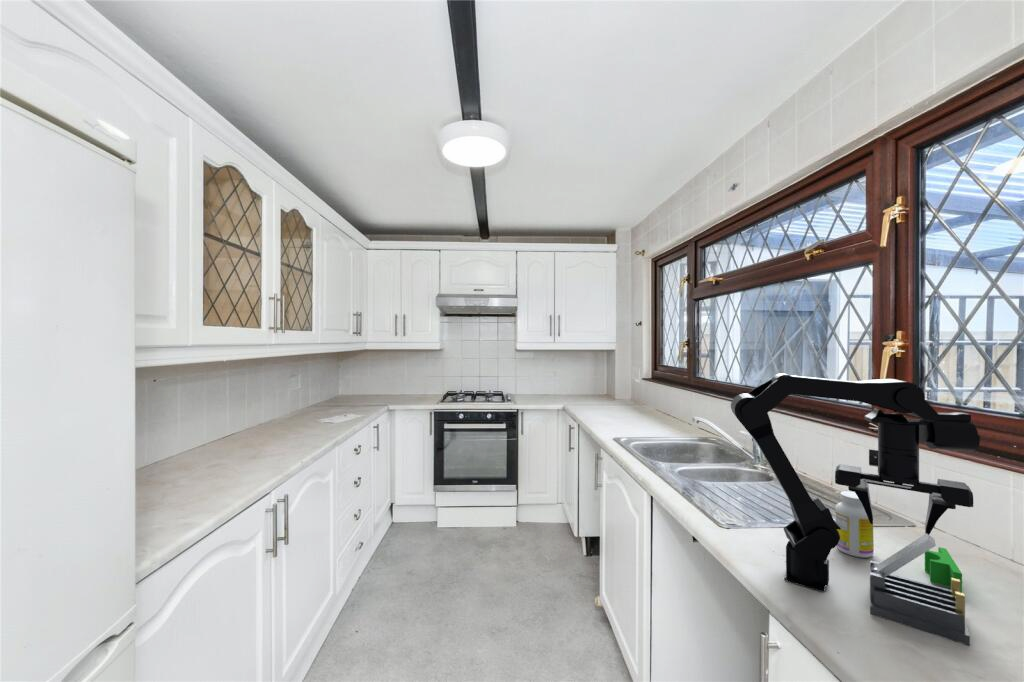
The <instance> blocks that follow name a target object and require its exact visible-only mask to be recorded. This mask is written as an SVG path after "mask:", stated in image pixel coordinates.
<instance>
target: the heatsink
mask: <svg viewBox="0 0 1024 682" xmlns="http://www.w3.org/2000/svg"><path fill="white" fill-rule="evenodd" d="M869 563H870V564H869V565H870V568H871V566H872V565H873V564H879V563H881V562H879V561H876V560H870V562H869ZM869 585H870V588H869V596H870V597H869V601H870V602H869V605H870V606H869V607H870V608H869V611H870V613H869V614H870V615H873V616H876V617H879V618H881V619H885V620H888V621H890V622H894V623H898V624H901V625H904V626H907V627H910V628H913V629H915V630H916V629H917V630H919V631H922V632H925V633H928V634H931V635H934V636H938V637H942V638H945V639H947V640H951V641H954V642H958V643H960V644H964V645H967V646H971V635H970V633H969V629H968V626H967V623H966V595H965V593H963V592H962V593H960V580H959V579H955V578H951V589H948V588H945V587H940V586H937V585H933V584H929V583H926V582H921V581H918V580H914V579H910V578H907V577H903V576H899V575H895V574H893V573H891V574H890V575H888V576H886V577H885V576H883V575H880V574H876V573H872V572H871V571H869Z"/></svg>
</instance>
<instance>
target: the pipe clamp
mask: <svg viewBox="0 0 1024 682" xmlns="http://www.w3.org/2000/svg"><path fill="white" fill-rule="evenodd" d="M937 548H938V551H934V550H928V551H927V552H925V553H924V572H925V573H928V574H929V582H930V583H931V584H935V585H940V586H944V587H947V588H949V590H951V578H955V579H959V580H960V593H963V573H962V572H961V570H960V568H959V566H958V565H957V563H956V562H955V560H954V559H953V557H952V556H951V554H950V553H949V551H948V550H947V548H946V547H945V548H944V547H940V546H938V547H937Z"/></svg>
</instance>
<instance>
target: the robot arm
mask: <svg viewBox="0 0 1024 682" xmlns="http://www.w3.org/2000/svg"><path fill="white" fill-rule="evenodd" d="M790 395H795V396H796V395H797V396H798V395H799V396H806V397H814V398H825V399H835V400H844V401H851V402H860V403H862V404H864V403H865V404H867V405H871V406H875V407H878V408H882V409H887V410H890V411H893V413H890V412H884V411H882V410H881V409H878V408H873V410H872V411H871V412H869V413H867V414H865V415H864V416H863V418H864V420H866V421H868V422H871V423H875V424H876V423H877V449H868V465H869V466H870V467H876V468H877V474H876V473H875V474H873V473H868V472H867V473H866V472H862V467H860V466H855V465H848V464H842V463H841V464H838V465H837V466H835V467H836V468H835V470H834V471H835V472H834V483H835V484H836V485H841V486H845V487H848V490H847V491H849V492H855V493H856V495H857V496H858V498H859V500H860V501H861V503H862V505H863V507H864V510H865V512H866V514H867V517H868V519H869V522H870V524H873V525H874V513H873V507H872V501H871V495H870V488H869V485H875V486H882V487H887V488H892V489H893V488H894V489H899V490H905V491H911V492H918V493H923V494H929V495H928V505H927V512H926V516H925V523H924V535H925V534H926V533H927V534H929V535H930V534H931V532H932V531H933V529H934V528H935V525H936V524H937V523H938V520H939V519H940V518H941V517H942V516H943V515H944V513H945V512H946V511H947V510H948V509H949V510H956V509H957V507H956V506H960V507H967V508H974V494H973V491H972V489H971V488H970V486H969V485H967V483H966V482H962V481H955V480H948V479H943V478H942V479H941V478H937V483H933V482H925V481H920V443H923V444H925V445H926V447H928V448H929V449H932V450H944V451H958V452H959V451H960V452H961V451H962V452H976V450H977V449H978V448H979V447H980V442H981V435H980V434H979V432H978V428H977V427H976V425H975V423H974V422H973V421H972V415H971V414H970V413H966V412H962V411H961V412H957V411H955V412H937V411H936V409H934V407H932V405H930V403H929V402H927V401H928V400H927V401H926V396H925V393H924V391H923V389H922V388H921V387H920V386H919V385H918V384H916V383H914V382H909V381H906V380H899V379H896V378H880V379H879V378H877V379H865V380H847V379H837V378H836V379H835V378H834V379H833V378H826V377H825V378H823V377H812V376H803V375H801V376H800V375H795V374H794V375H792V374H787V373H784V372H781V373H779V372H778V373H776V374H775V375H773V376H772V377H771V378H770V379H768V380H767V381H765V382H763V383H761V384H759V385H757V386H756V387H754V388H752V389H751V390H750V391H748V392H747V393H740V394H737V395H736V396H734V397H733V399H732V400H731V402H730V410H731V412H732V413H733V415H734V416H735V418H736V419H737V420H738V421H739V422H740V424H741V425H742V426H743V427H744V429H745V430H746V432H748V433H749V435H750V436H751V437H752V439H754V441H755V443H756V445H757V446H758V448H759V450H760V452H761V453H762V455H763V457H764V458H765V460H766V463H767V464H768V465H769V467H770V469H771V471H772V472H773V474H774V475H775V478H776V479H777V481H778V483H779V484H780V486H781V488H782V490H783V491H784V493H785V495H786V498H787V499H788V501H789V502H788V503H789V506H790V510H791V512H792V515H793V517H794V518H793V519H794V520H793V521H791V522H790V523H789V524H787V525H786V526H784V527H783V531H784V534H785V536H786V538H787V539H788V541H787V542H786V545H785V574H784V578H783V579H784V580H785V581H787V582H790V583H793V584H796V585H800V586H802V587H806V588H809V589H813V590H816V591H820V592H823V593H824V592H825V591H826V586H829V581H830V560H829V559H828V557H829V556H830V553H831V550H833V549H835V548H836V547H837V546H836V545H837V544H838V542H839V540H840V535H839V532H838V531H837V529H841V528H840V527H839V526H838V524H837V523H836V520H835V519H834V518H833V515H832V512H831V510H830V508H829V507H828V506H827V505H826V504H825V502H824V501H823V500H822V499H821V498H820V497H817V498H816V499H814V500H813V498H811V496H810V494H809V493H808V490H807V488H806V487H805V485H804V484H803V482H802V480H801V478H800V477H799V475H798V474H797V472H796V469H795V468H794V467H793V465H792V463H791V462H790V460H789V458H788V456H787V454H786V452H785V451H784V449H783V448H782V446H781V444H780V443H779V441H778V439H777V438H776V436H775V433H774V430H773V429H774V428H773V426H772V422H771V418H770V415H769V412H771V411H772V410H773V409H775V408H776V407H777V406H778V405H779V404H780V403H782V401H783V400H785V399H786V398H788V397H789V396H790ZM894 412H896V413H894ZM897 412H898V413H897ZM904 414H908V415H910V416H914V417H916V418H907V417H906V416H905V415H904ZM918 418H919V419H918Z"/></svg>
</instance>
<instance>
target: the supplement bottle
mask: <svg viewBox="0 0 1024 682" xmlns="http://www.w3.org/2000/svg"><path fill="white" fill-rule="evenodd" d="M839 497H840V499H841V502H837V503H836V505H835V506H834V507H835V512H834V513H835V522H836V523H837V524H838V526H839V527H840V528H841V529H837V531H838V532H839V535H840V540H839V542H838V544H837V545H836V546H835V547H837V549H838V550H839V551H840V552H842V553H844V554H846V555H849V556H852V557H857V558H864V559H865V558H871V557H873V555H874V554H875V553H874V550H875V549H874V545H875V544H874V523H873V524H870V522H869V519H868V517H867V514H866V512H865V510H864V507H863V505H862V503H861V501H860V500H859V498H858V496H857V495H856V493H855V492H854V491H849V490H847V491H846V490H845V491H841V492H840V496H839Z"/></svg>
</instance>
